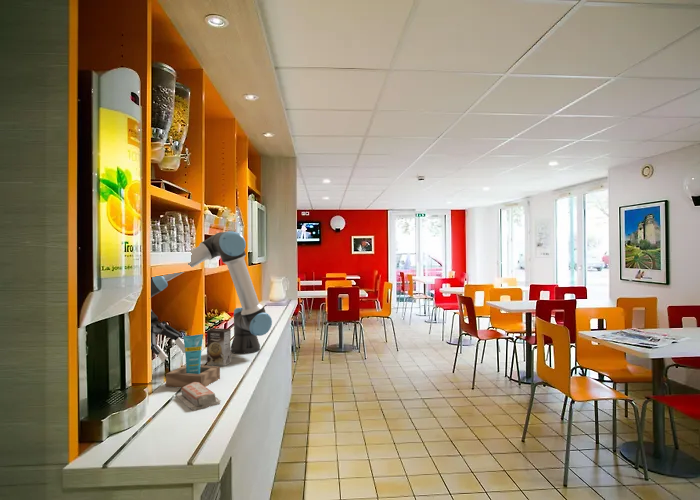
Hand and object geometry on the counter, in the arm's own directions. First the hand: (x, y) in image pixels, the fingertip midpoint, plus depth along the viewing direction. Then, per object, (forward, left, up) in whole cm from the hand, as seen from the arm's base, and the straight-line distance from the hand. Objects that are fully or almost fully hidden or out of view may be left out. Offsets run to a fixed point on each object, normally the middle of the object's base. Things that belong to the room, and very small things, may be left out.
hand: (176, 355), depth 169 cm
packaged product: (+16, +21, -11) cm, 29 cm away
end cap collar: (0, +8, -11) cm, 13 cm away
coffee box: (-27, +3, -11) cm, 29 cm away
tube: (0, +8, -11) cm, 13 cm away
